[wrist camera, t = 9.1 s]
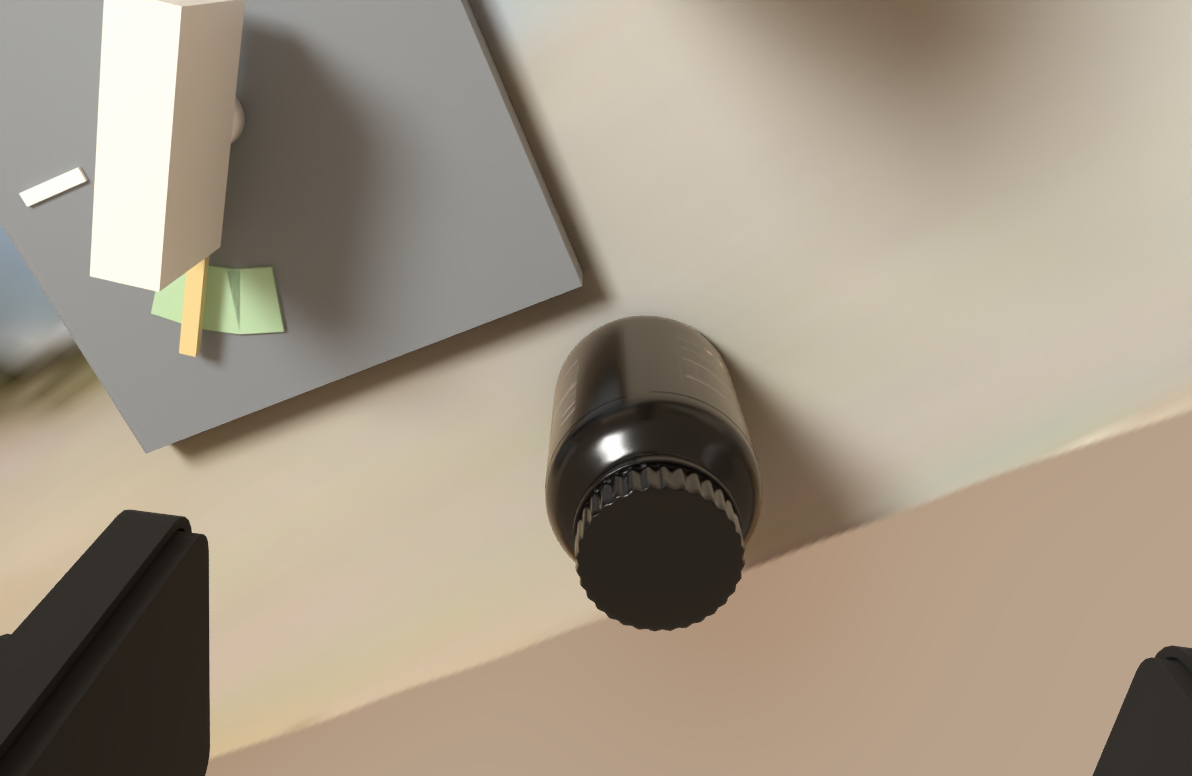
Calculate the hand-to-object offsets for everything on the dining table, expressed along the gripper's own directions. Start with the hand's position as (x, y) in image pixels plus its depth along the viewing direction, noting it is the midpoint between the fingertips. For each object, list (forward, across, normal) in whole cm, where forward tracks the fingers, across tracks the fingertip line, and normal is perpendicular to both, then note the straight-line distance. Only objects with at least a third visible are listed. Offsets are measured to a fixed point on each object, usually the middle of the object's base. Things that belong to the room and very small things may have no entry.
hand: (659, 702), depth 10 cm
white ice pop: (+26, +14, +2) cm, 30 cm away
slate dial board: (+28, +14, 0) cm, 32 cm away
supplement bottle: (+28, -2, +8) cm, 30 cm away
